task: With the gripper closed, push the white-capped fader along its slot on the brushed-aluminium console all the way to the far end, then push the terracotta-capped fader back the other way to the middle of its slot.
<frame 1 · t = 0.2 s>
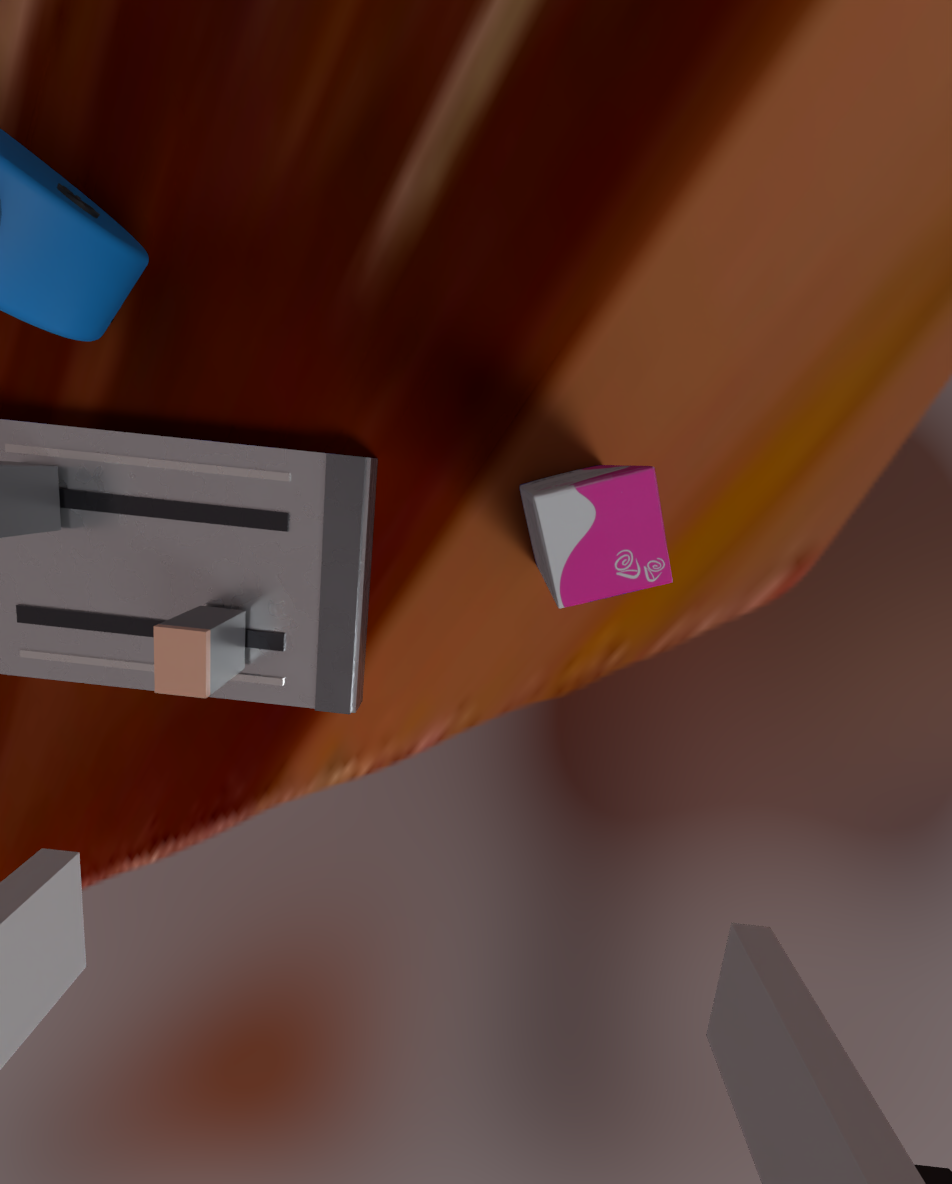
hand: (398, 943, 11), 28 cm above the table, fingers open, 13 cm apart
console: (182, 565, 38), on the table
fader white: (1, 497, 33), point 5 cm above the table, slide at 0.0 cm
alarm clock: (86, 254, 35), on the table
fader terracotta: (202, 649, 34), point 5 cm above the table, slide at 0.0 cm
supplement box: (570, 517, 37), on the table
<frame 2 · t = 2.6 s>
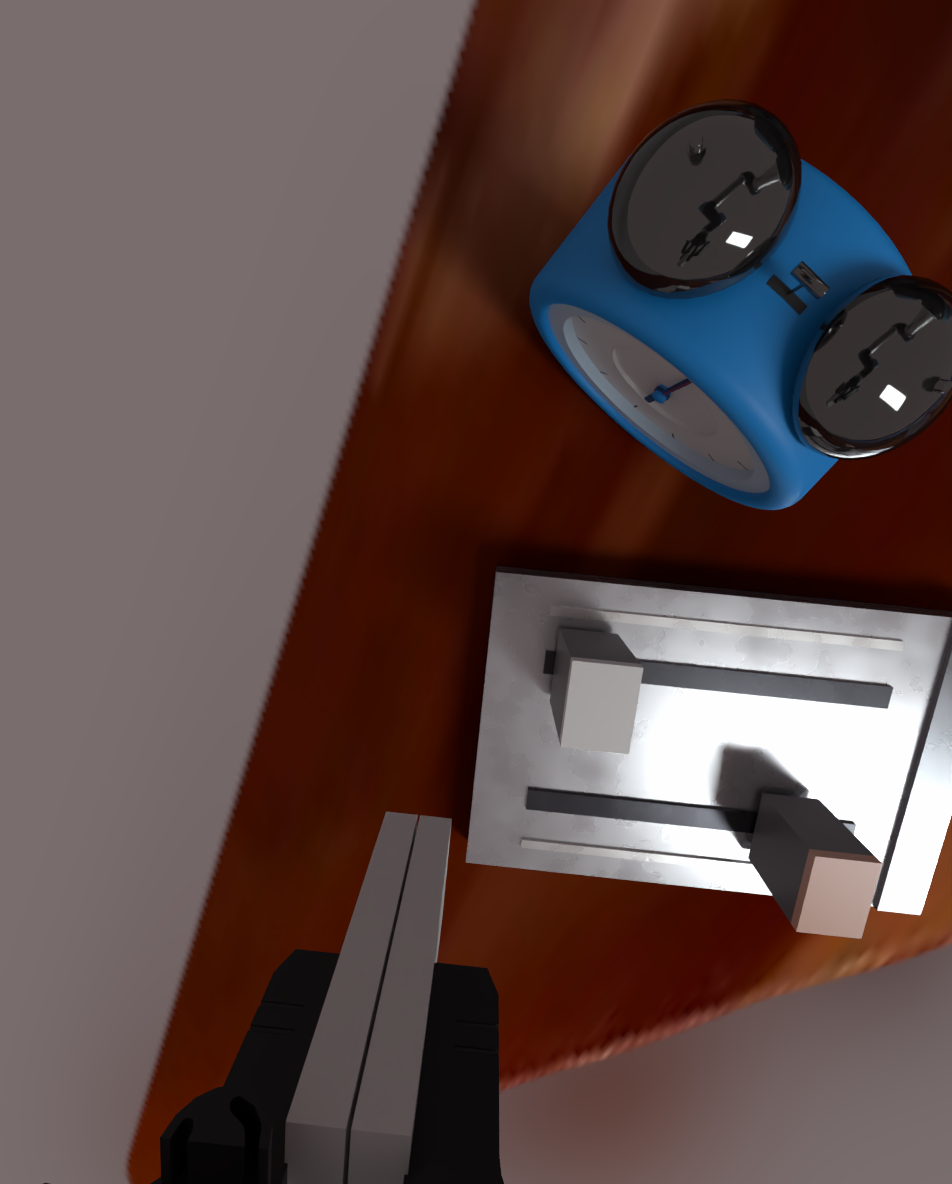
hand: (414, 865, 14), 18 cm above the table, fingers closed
console: (706, 733, 32), on the table
fader white: (591, 686, 27), point 5 cm above the table, slide at 0.0 cm
alarm clock: (654, 375, 28), on the table
fader terracotta: (808, 860, 28), point 5 cm above the table, slide at 0.0 cm
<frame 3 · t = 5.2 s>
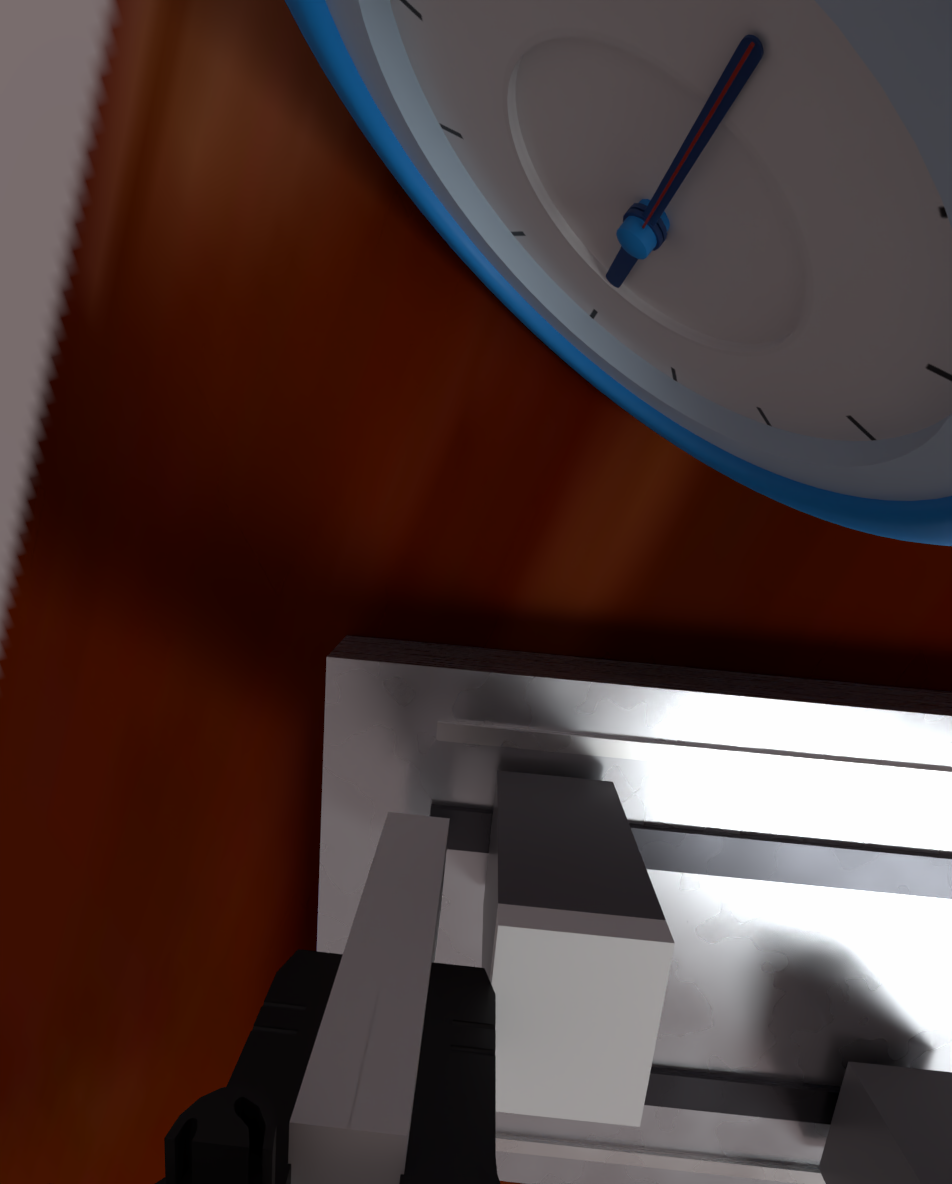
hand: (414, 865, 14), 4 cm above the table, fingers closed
console: (737, 926, 18), on the table
fader white: (556, 918, 12), point 5 cm above the table, slide at 1.2 cm, touching gripper
alarm clock: (636, 265, 14), on the table
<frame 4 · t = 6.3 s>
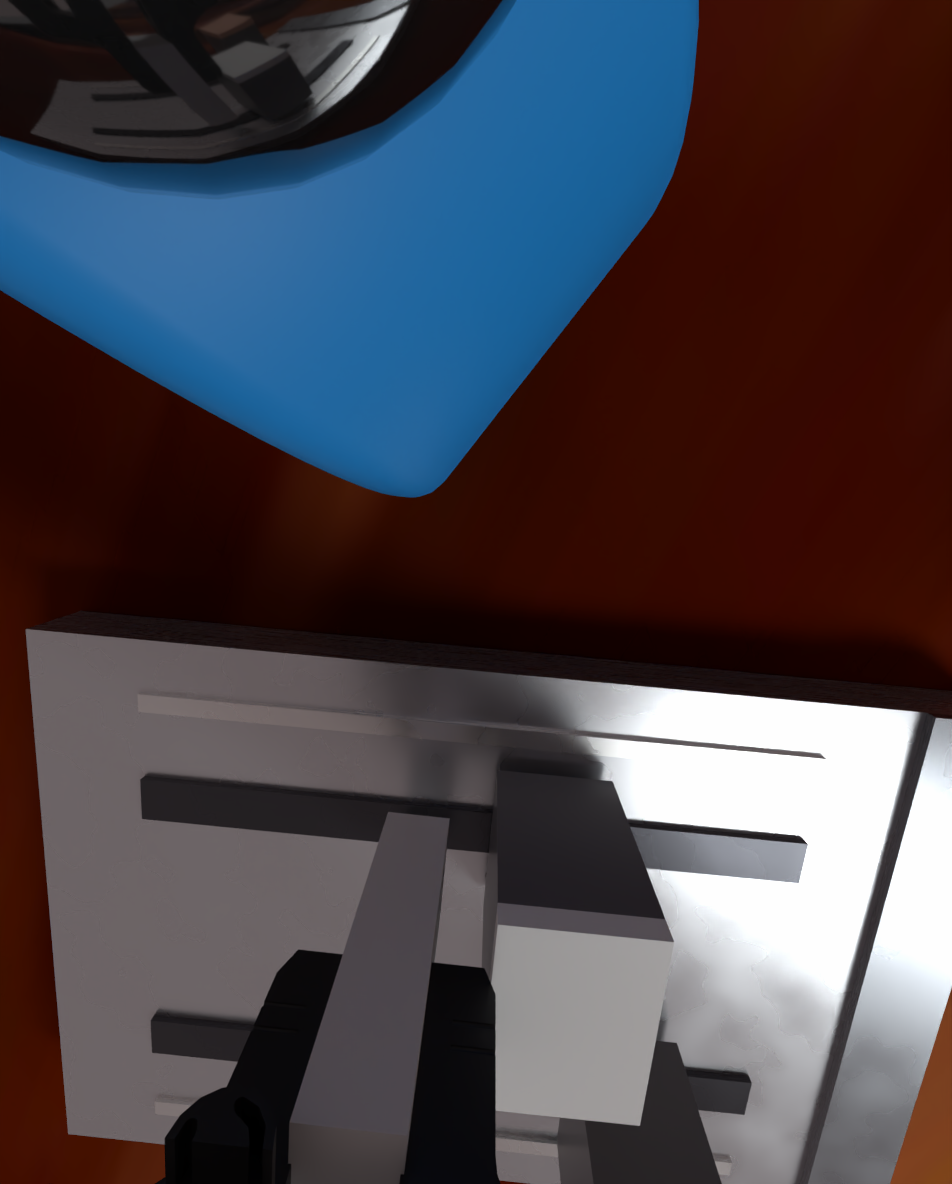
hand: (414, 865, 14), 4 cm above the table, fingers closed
console: (492, 901, 18), on the table
fader white: (556, 917, 12), point 5 cm above the table, slide at 9.1 cm, touching gripper
alarm clock: (329, 240, 14), on the table
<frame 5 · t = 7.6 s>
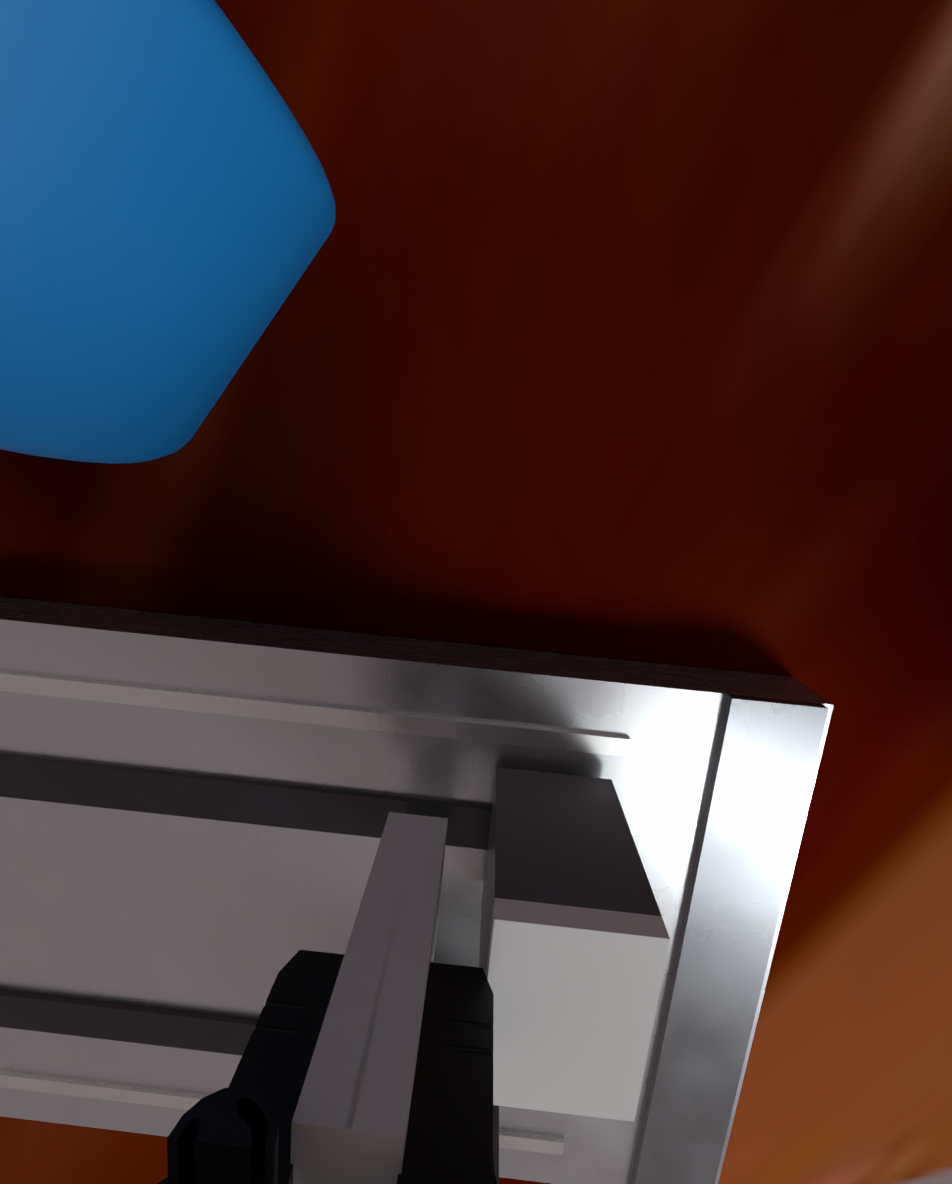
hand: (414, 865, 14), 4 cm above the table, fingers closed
console: (337, 881, 18), on the table
fader white: (553, 914, 12), point 5 cm above the table, slide at 14.1 cm, touching gripper
alarm clock: (143, 222, 15), on the table
fader terracotta: (432, 1175, 14), point 5 cm above the table, slide at 0.0 cm
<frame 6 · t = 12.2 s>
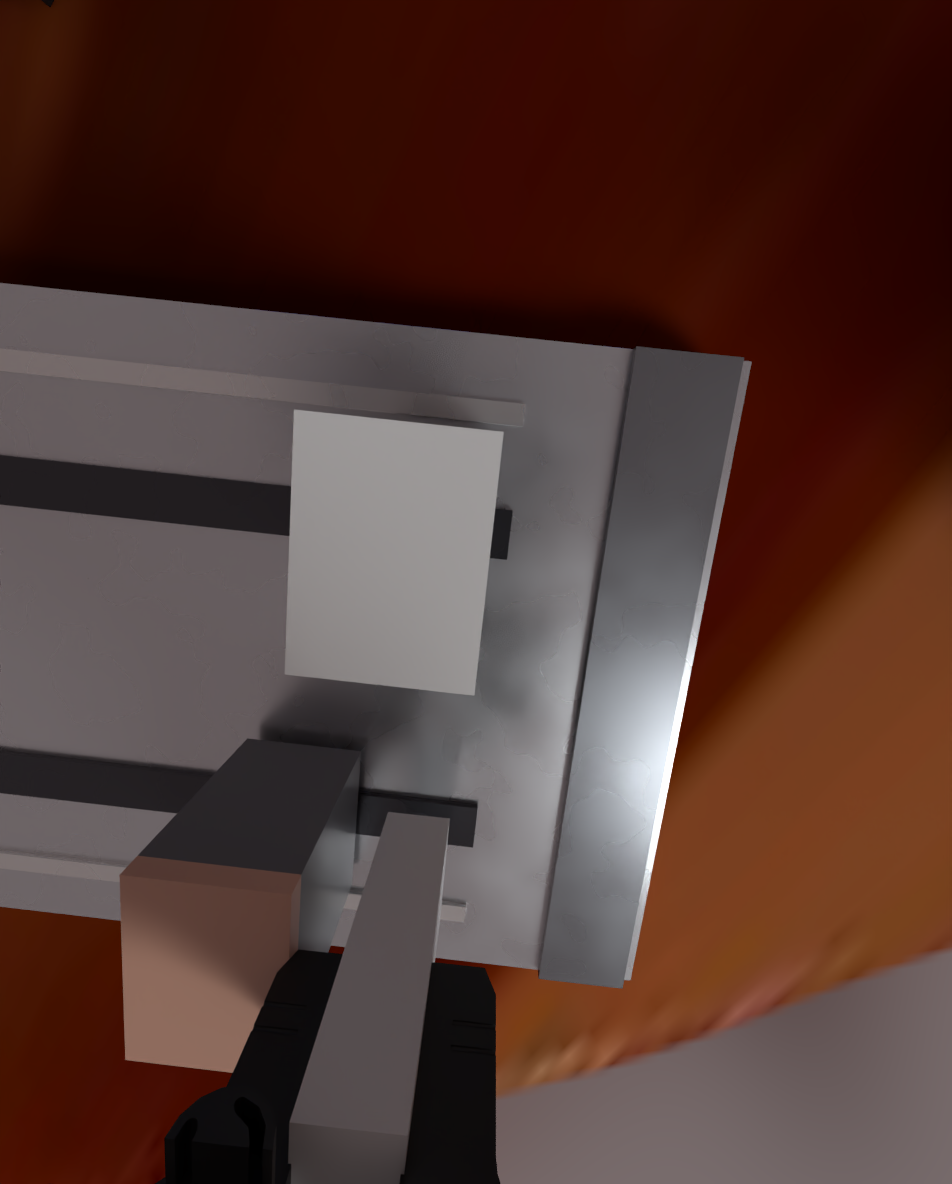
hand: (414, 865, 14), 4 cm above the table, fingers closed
console: (223, 632, 17), on the table
fader white: (413, 539, 11), point 5 cm above the table, slide at 14.0 cm
fader terracotta: (262, 880, 13), point 5 cm above the table, slide at 0.7 cm, touching gripper
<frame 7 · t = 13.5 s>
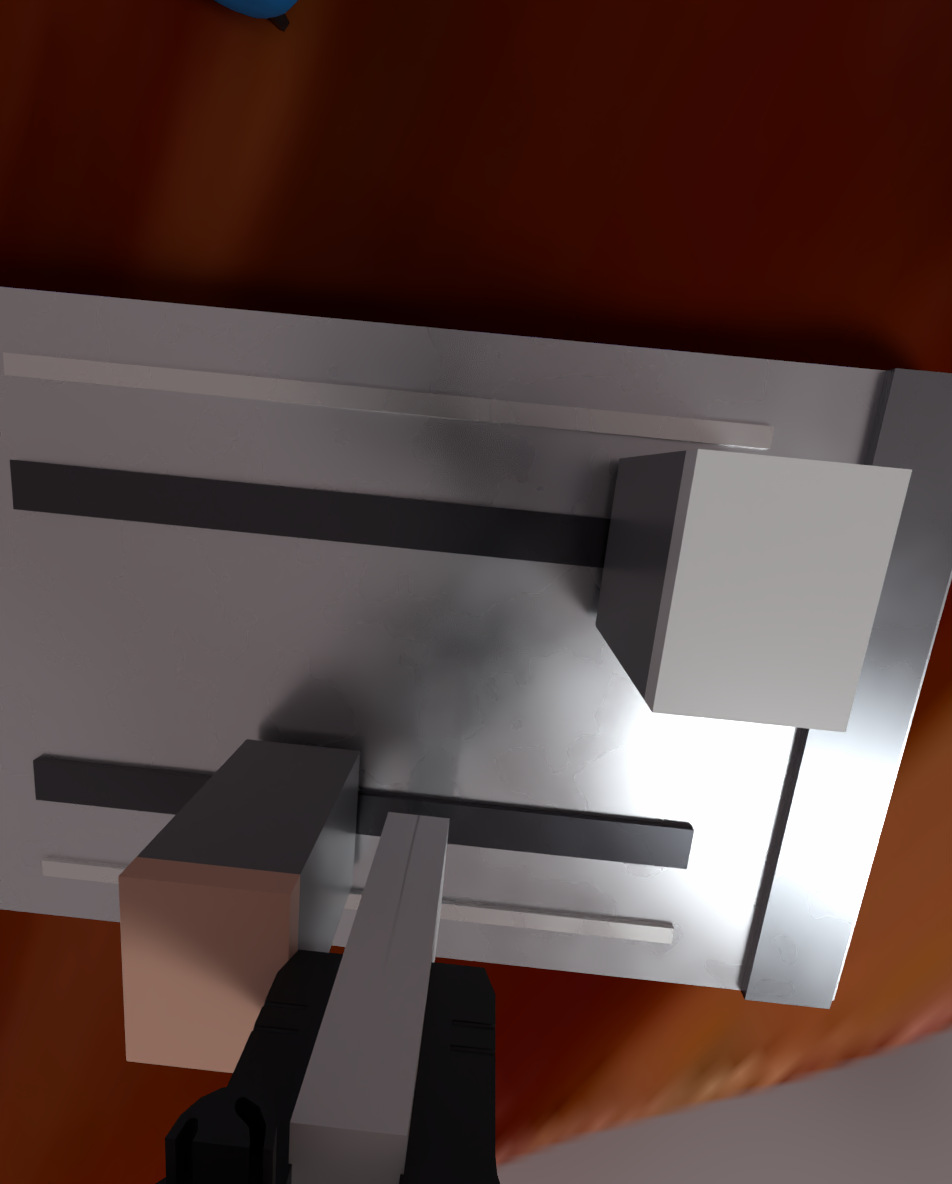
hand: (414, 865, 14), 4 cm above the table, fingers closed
console: (418, 653, 17), on the table
fader white: (710, 568, 11), point 5 cm above the table, slide at 14.0 cm
fader terracotta: (262, 880, 13), point 5 cm above the table, slide at 6.5 cm, touching gripper
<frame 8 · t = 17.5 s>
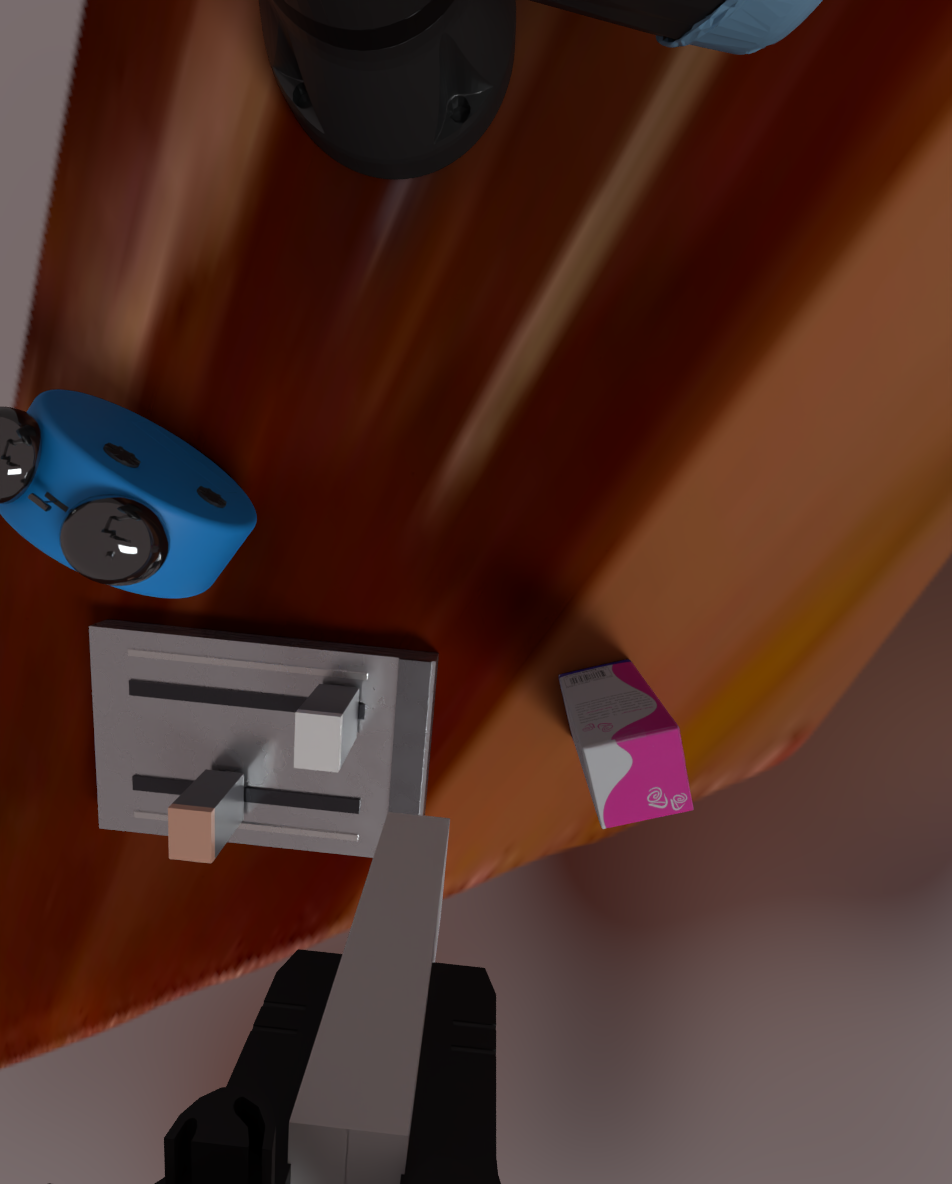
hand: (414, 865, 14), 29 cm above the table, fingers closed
console: (270, 736, 45), on the table
fader white: (328, 725, 39), point 5 cm above the table, slide at 14.0 cm
alarm clock: (196, 491, 42), on the table
fader terracotta: (208, 813, 41), point 5 cm above the table, slide at 6.6 cm
supplement box: (601, 699, 44), on the table
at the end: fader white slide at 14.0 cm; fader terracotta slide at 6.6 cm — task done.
